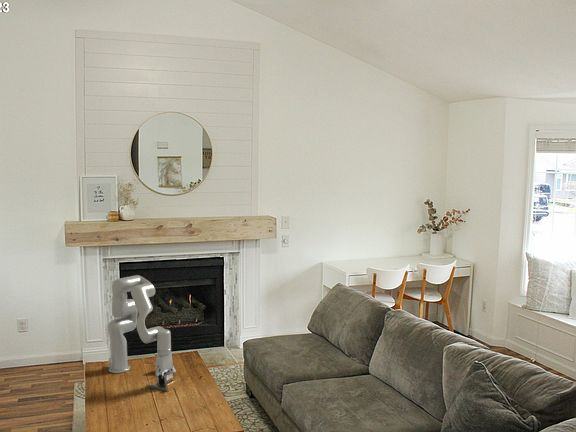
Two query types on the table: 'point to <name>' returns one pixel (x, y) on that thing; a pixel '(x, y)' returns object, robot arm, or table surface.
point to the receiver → (168, 386)
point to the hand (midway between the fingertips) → (164, 382)
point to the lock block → (166, 378)
